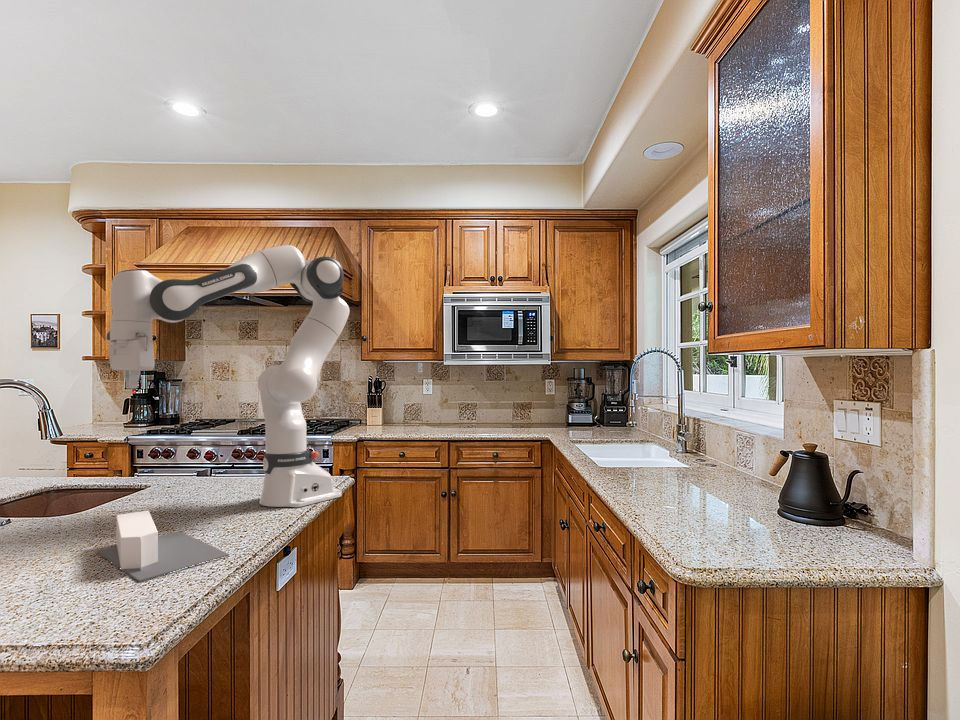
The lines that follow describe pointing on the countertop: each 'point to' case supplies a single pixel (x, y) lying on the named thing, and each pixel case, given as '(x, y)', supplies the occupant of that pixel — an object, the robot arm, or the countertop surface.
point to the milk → (136, 540)
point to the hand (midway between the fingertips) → (131, 388)
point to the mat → (169, 556)
